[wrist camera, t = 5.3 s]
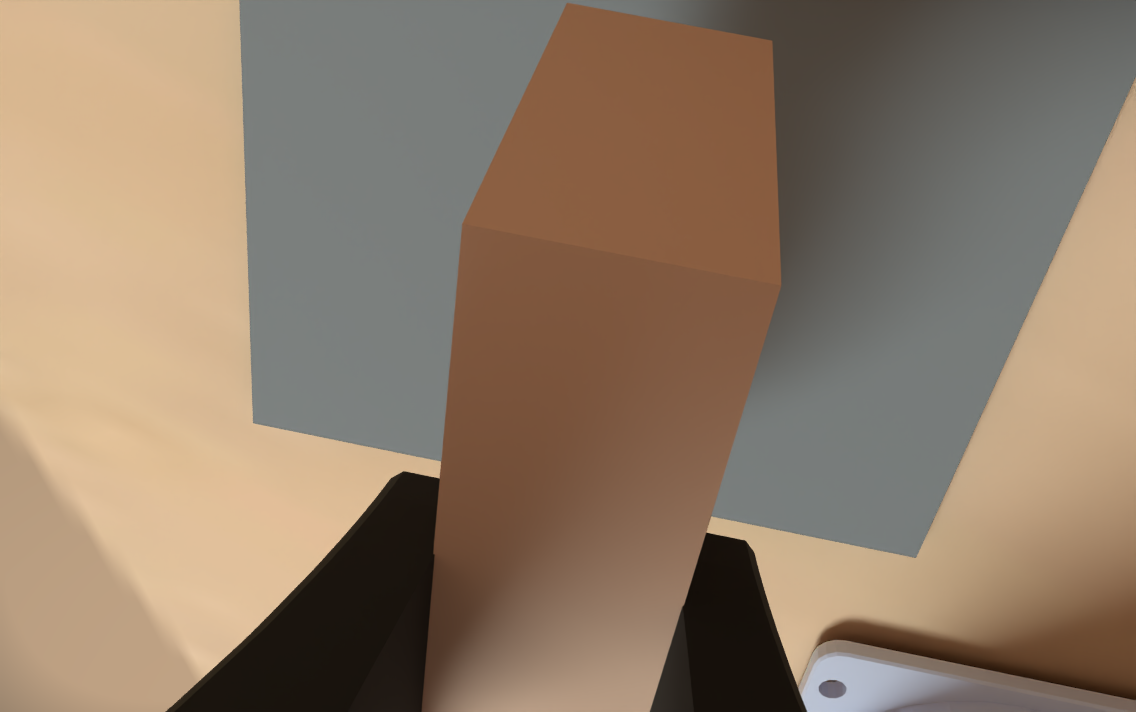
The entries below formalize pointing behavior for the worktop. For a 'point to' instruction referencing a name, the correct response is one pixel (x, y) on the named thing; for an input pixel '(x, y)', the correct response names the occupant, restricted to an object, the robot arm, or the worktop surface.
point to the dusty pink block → (600, 362)
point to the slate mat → (806, 221)
